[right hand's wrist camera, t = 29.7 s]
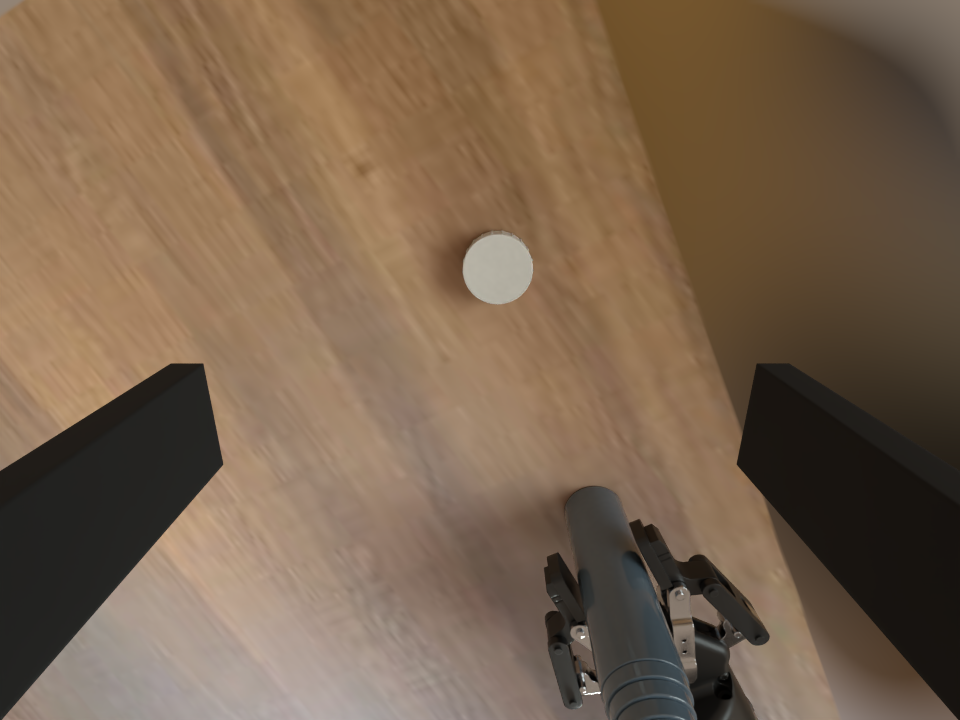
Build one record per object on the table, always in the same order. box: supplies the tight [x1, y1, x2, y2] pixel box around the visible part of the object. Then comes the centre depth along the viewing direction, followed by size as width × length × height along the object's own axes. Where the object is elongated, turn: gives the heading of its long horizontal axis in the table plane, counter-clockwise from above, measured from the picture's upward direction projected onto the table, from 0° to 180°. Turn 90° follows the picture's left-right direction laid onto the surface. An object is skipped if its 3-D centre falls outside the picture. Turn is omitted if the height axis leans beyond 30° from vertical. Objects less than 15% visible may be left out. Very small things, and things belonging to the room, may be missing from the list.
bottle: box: [564, 486, 697, 720], centre depth 28 cm, size 4×4×20 cm
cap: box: [462, 230, 533, 304], centre depth 31 cm, size 4×4×2 cm
